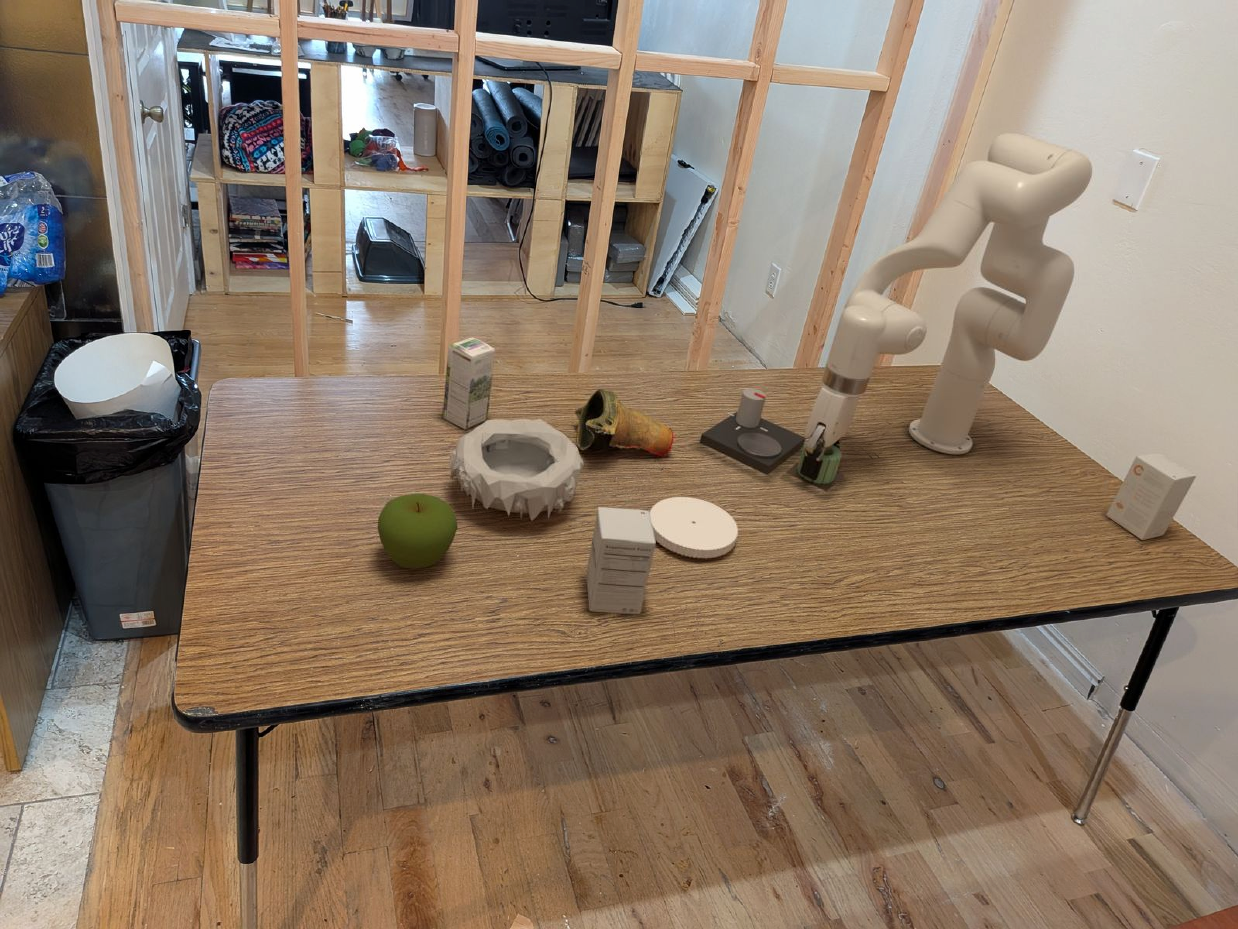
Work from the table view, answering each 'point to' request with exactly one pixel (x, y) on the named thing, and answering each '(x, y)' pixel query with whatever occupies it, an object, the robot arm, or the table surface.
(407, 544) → the apple
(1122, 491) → the small box
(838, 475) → the peg stand
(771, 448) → the burner
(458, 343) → the syrup box
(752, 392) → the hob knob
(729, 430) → the hob
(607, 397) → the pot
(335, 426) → the table surface
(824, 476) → the ring
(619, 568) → the white packaging box
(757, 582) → the table surface
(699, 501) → the plastic lid
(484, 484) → the bowl
